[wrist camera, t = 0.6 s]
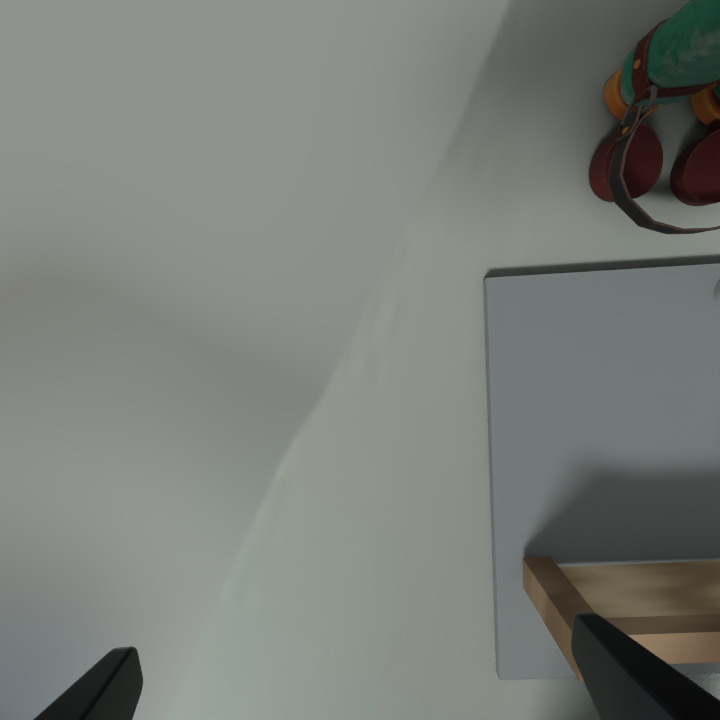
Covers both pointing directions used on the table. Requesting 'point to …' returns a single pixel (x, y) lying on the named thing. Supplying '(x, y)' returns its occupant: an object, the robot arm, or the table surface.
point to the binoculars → (643, 95)
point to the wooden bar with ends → (633, 604)
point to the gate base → (599, 434)
